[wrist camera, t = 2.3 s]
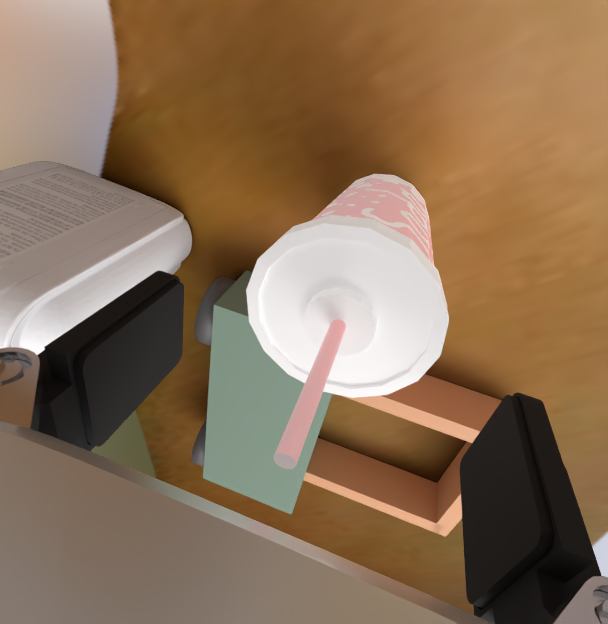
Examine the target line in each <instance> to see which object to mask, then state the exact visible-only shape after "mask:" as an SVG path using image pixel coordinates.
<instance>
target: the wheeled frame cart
mask: <svg viewBox="0 0 608 624" xmlns="http://www.w3.org/2000/svg"><path fill="white" fill-rule="evenodd" d="M252 273H253V272H251V271H248V270H246V271H245V272H244V273H243V274H242V275H241V276H240V277H239V278H238V280H237V281H235V280H232V279H229V278H226V277H223V276H222V277H219V278H217V279H216V280H215V281H214V282H213V283H212V284H211V285H210V287H209V288H208V290H207V291H206V293H205V295H204V297H203V299H202V301H201V304H200V307H199V310H198V313H197V317H196V323H195V336H196V339H197V341H198V342H200V343H203V344H206V345H209V346H211V357H210V374H209V390H208V407H207V419H206V421H205V422H204V424H203V426H202V427H201V429H200V431H199V434H198V436H197V438H196V441H195V444H194V447H193V451H192V457H191V460H192V462H193V463H195V464H198V465H200V466H203V467H204V472H203V478H204V479H206V480H209V481H211V482H214V483H216V484H218V485H221V486H223V487H226V488H228V489H231V490H233V491H235V492H238V493H240V494H243V495H245V496H247V497H250V498H252V499H255V500H257V501H260V502H262V503H264V504H267V505H269V506H272V507H274V508H277V509H279V510H281V511H284V512H286V513H289V514H292V511H293V508H294V505H295V502H296V500H297V497H298V494H299V491H300V488H301V485H302V482H303V480H305V481H307V482H310V483H312V484H315V485H317V486H320V487H322V488H325V489H327V490H330V491H332V492H335V493H337V494H340V495H342V496H345V497H347V498H350V499H352V500H355V501H357V502H360V503H362V504H365V505H367V506H370V507H372V508H375V509H377V510H380V511H382V512H385V513H387V514H390V515H392V516H395V517H397V518H400V519H402V520H405V521H407V522H410V523H412V524H415V525H417V526H420V527H423V528H425V529H428V530H430V531H433V532H435V533H438V534H440V535H443V536H445V537H446V536H447V535H448V533H449V532H450V531H451V530H452V529H453V528H454V527H455V525H456V524H457V523H458V522H459V521H460V520H461V519H462V504H461V486H460V463H461V460H462V457H463V456H464V454H465V453H466V451H467V450H468V448H469V447H470V446H471V444H472V443H473V441H474V440H475V438H476V437H477V436H478V434H479V433H480V431H481V430H482V429H483V427H484V426H485V424H486V423H487V421H488V420H489V419H490V417H491V416H492V414H493V413H494V411H495V410H496V409H497V407H498V406H499V404H500V403H501V401H502V400H499V399H496V398H493V397H490V396H487V395H485V394H482V393H479V392H476V391H473V390H470V389H467V388H464V387H461V386H458V385H455V384H453V383H450V382H447V381H444V380H441V379H438V378H435V377H432V376H429V375H426V374H424V375H423V376H422V377H421V378H420V379H419V380H418V381H417V382H415V383H412V384H410V385H408V386H406V387H404V388H401V389H399V390H397V391H395V392H393V393H390V394H388V395H381V396H369V397H357V398H351V397H346V396H343V397H346V398H349V399H352V400H354V401H357V402H360V403H363V404H365V405H368V406H371V407H374V408H376V409H379V410H382V411H385V412H387V413H390V414H393V415H396V416H398V417H401V418H404V419H407V420H409V421H412V422H415V423H418V424H421V425H423V426H426V427H429V428H432V429H434V430H437V431H440V432H443V433H445V434H448V435H451V436H454V437H456V438H459V439H462V440H465V441H467V442H466V443H465V445H464V446H463V448H462V449H461V450H460V452H459V453H458V454H457V456H456V457H455V459H454V460H453V461H452V463H451V464H450V466H449V467H448V468H447V470H446V471H445V473H444V474H443V475H442V477H441V478H440V480H439V481H438V482H437V483H436V482H433V481H431V480H428V479H425V478H423V477H420V476H417V475H415V474H412V473H410V472H407V471H404V470H402V469H399V468H396V467H394V466H391V465H389V464H386V463H383V462H381V461H378V460H375V459H373V458H370V457H368V456H365V455H362V454H360V453H357V452H354V451H352V450H349V449H347V448H344V447H341V446H339V445H336V444H333V443H331V442H328V441H326V440H323V439H320V438H318V435H319V432H320V429H321V426H322V423H323V420H324V417H325V414H326V411H327V408H328V405H329V402H330V399H331V396H332V393H328V392H323V393H322V396H321V398H320V401H319V404H318V407H317V409H316V412H315V415H314V418H313V420H312V423H311V426H310V429H309V431H308V434H307V437H306V440H305V442H304V445H303V448H302V451H301V453H300V456H299V459H298V462H297V464H296V466H295V468H293V469H284V468H282V467H280V466H278V465H277V464H276V463H275V461H274V458H273V457H274V454H275V452H276V450H277V447H278V445H279V443H280V440H281V438H282V436H283V433H284V431H285V429H286V426H287V424H288V422H289V419H290V417H291V415H292V412H293V410H294V408H295V405H296V403H297V401H298V398H299V396H300V394H301V391H302V389H303V387H304V384H305V383H303V382H301V381H300V380H298V379H296V378H294V377H292V376H290V375H288V374H287V373H286V372H285V371H284V370H283V369H282V368H281V367H280V366H279V365H278V364H277V363H276V362H275V361H274V360H273V359H272V358H271V357H270V356H269V355H268V354H267V353H266V352H265V351H264V350H263V348H262V346H261V344H260V342H259V340H258V338H257V336H256V334H255V332H254V330H253V328H252V327H251V325H250V323H249V315H248V305H247V294H246V289H247V286H248V284H249V281H250V278H251V276H252ZM341 396H342V395H341Z"/></svg>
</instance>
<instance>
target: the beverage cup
mask: <svg viewBox="0 0 608 624" xmlns="http://www.w3.org/2000/svg"><path fill="white" fill-rule="evenodd" d="M246 294H247V305H248V315H249V323H250V325H251V327H252V328H253V330H254V332H255V334H256V336H257V338H258V340H259V342H260V344H261V346H262V348H263V350H264V351H265V352H266V353H267V354H268V355H269V356H270V357H271V358H272V359H273V360H274V361H275V362H276V363H277V364H278V365H279V366H280V367H281V368H282V369H283V370H284V371H285V372H286V373H287V374H288V375H290V376H292V377H294V378H296V379H298V380H300V381H301V382H303V383H305V384H304V387H303V389H302V391H301V394H300V396H299V398H298V401H297V403H296V405H295V408H294V410H293V412H292V415H291V417H290V419H289V422H288V424H287V426H286V429H285V431H284V433H283V436H282V438H281V440H280V443H279V445H278V447H277V450H276V452H275V454H274V457H273V458H274V461H275V463H276V464H277V465H278V466H280V467H282V468H284V469H293V468H295V466H296V464H297V462H298V459H299V456H300V453H301V451H302V448H303V445H304V442H305V440H306V437H307V434H308V431H309V429H310V426H311V423H312V420H313V418H314V415H315V412H316V409H317V407H318V404H319V401H320V398H321V396H322V393H323V392H328V393H332V394H337V395H342V396H346V397H351V398H357V397H369V396H381V395H388V394H390V393H393V392H395V391H397V390H399V389H401V388H404V387H406V386H408V385H410V384H412V383H415V382H417V381H418V380H419V379H420V378H421V377H422V376H423V375H424V374H425V373H426V371H427V370H428V369H429V368H430V367H431V366H432V365H433V364H434V362H435V361H436V360H437V359H438V358H439V357H440V356H441V352H442V348H443V344H444V340H445V335H446V331H447V327H448V323H449V315H448V311H447V303H446V299H445V295H444V291H443V287H442V283H441V280H440V276H439V272H438V270H437V269H436V268H435V266H434V260H433V251H432V242H431V232H430V223H429V216H428V212H427V208H426V204H425V200H424V198H423V197H422V196H421V195H420V193H419V192H418V191H417V190H416V188H415V187H414V186H413V185H412V184H411V183H409V182H407V181H405V180H403V179H401V178H399V177H397V176H395V175H385V174H373V175H370V176H367V177H364V178H361V179H358V180H356V181H355V182H354V183H352V184H351V185H350V186H349V187H348V188H347V189H346V190H345V191H344V192H342V193H341V194H340V195H339V196H338V197H337V198H336V199H335V200H334V201H332V202H331V203H330V204H329V205H328V206H327V207H326V208H325V209H324V210H323V211H322V212H320V213H319V214H318V215H317V216H316V217H315V218H314V219H313V220H312V221H309V222H306V223H303V224H299V225H296V226H293V227H292V228H291V229H290V230H289V231H288V232H286V233H285V234H284V235H283V236H282V237H281V238H280V239H279V240H278V241H277V242H275V243H274V244H273V245H272V246H271V247H270V248H269V249H268V250H267V251H266V252H265V253H263V254H262V255H261V256H260V257H259V258H258V259H257V262H256V265H255V268H254V270H253V273H252V276H251V278H250V281H249V284H248V286H247V289H246Z"/></svg>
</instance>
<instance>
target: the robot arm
mask: <svg viewBox="0 0 608 624" xmlns="http://www.w3.org/2000/svg"><path fill="white" fill-rule="evenodd" d="M183 306H184V285H183V284H182V283H180V280H179V277H177V276H175V275H172V274H169V273H166V272H163V271H159V270H158V271H156V272H154V273H153V274H152V275H150V276H149V277H147V278H146V279H144V280H143V281H141V282H140V283H138V284H137V285H135V286H134V287H132V288H131V289H129V290H128V291H126V292H125V293H123V294H122V295H120V296H119V297H117V298H116V299H114V300H113V301H112V302H110V303H109V304H107V305H106V306H104V307H103V308H101V309H100V310H98V311H97V312H95V313H94V314H92V315H91V316H89V317H88V318H86V319H85V320H83V321H82V322H80V323H79V324H77V325H76V326H75V327H73V328H72V329H70V330H69V331H67V332H66V333H64V334H63V335H61V336H60V337H58V338H57V339H55V340H54V341H52V342H51V343H49V344H48V345H46V346H45V347H44V348H45V350H44V351H42V352H41V353H39V354H38V355H36V354H35V353H34V352H32V351H30V350H28V349H24V348H19V347H7V348H1V349H0V624H608V578H607V577H604V576H601V573H600V570H599V567H598V564H597V560H596V557H595V554H594V551H593V548H592V545H591V542H590V539H589V536H588V533H587V530H586V527H585V524H584V521H583V518H582V515H581V512H580V509H579V506H578V503H577V500H576V497H575V494H574V491H573V488H572V485H571V482H570V479H569V476H568V473H567V470H566V468H565V466H564V464H563V461H562V458H561V455H560V452H559V449H558V446H557V443H556V440H555V437H554V434H553V431H552V428H551V425H550V422H549V419H548V416H547V413H546V410H545V407H544V404H543V402H542V401H541V400H539V399H536V398H533V397H530V396H527V395H524V394H521V393H515V394H514V395H513V396H510V395H507V396H505V397H504V399H503V400H502V401H501V403H500V404H499V406H498V407H497V409H496V410H495V411H494V413H493V414H492V416H491V417H490V419H489V420H488V421H487V423H486V424H485V426H484V427H483V429H482V430H481V431H480V433H479V434H478V436H477V437H476V438H475V440H474V441H473V443H472V444H471V446H470V447H469V448H468V450H467V451H466V453H465V454H464V456H463V457H462V460H461V463H460V486H461V504H462V521H463V539H464V557H465V574H466V592H467V599H468V601H469V603H470V604H473V605H474V615H472V614H470V613H468V612H466V611H463V610H461V609H459V608H457V607H455V606H452V605H450V604H448V603H446V602H443V601H441V600H439V599H437V598H435V597H432V596H430V595H428V594H426V593H423V592H421V591H419V590H417V589H414V588H412V587H410V586H407V585H405V584H403V583H400V582H398V581H396V580H393V579H391V578H389V577H386V576H384V575H382V574H379V573H377V572H375V571H372V570H370V569H368V568H365V567H363V566H361V565H358V564H356V563H354V562H351V561H349V560H347V559H344V558H342V557H340V556H337V555H335V554H333V553H330V552H328V551H326V550H324V549H321V548H319V547H317V546H314V545H312V544H309V543H307V542H305V541H302V540H300V539H298V538H295V537H293V536H291V535H288V534H286V533H284V532H281V531H279V530H277V529H274V528H272V527H270V526H267V525H265V524H262V523H260V522H258V521H255V520H253V519H251V518H248V517H246V516H244V515H241V514H239V513H236V512H234V511H232V510H229V509H227V508H225V507H222V506H220V505H218V504H215V503H213V502H210V501H208V500H206V499H203V498H201V497H199V496H196V495H194V494H192V493H189V492H187V491H184V490H182V489H180V488H177V487H175V486H172V485H170V484H168V483H165V482H163V481H160V480H158V479H156V478H153V477H151V476H148V475H146V474H144V473H141V472H139V471H136V470H134V469H131V468H129V467H127V466H124V465H122V464H120V463H117V462H115V461H112V460H110V459H108V458H105V457H103V456H100V455H98V454H95V453H93V452H90V451H91V450H92V449H93V448H94V447H95V446H101V445H103V444H104V443H105V442H106V440H108V438H109V437H110V436H111V435H112V434H113V433H114V432H115V431H116V429H118V428H119V426H120V425H121V424H122V423H123V422H124V421H125V420H126V419H127V418H128V417H129V416H130V415H131V413H132V412H133V411H134V410H135V409H136V408H137V407H138V406H139V405H140V404H141V403H142V402H143V400H144V399H145V398H146V397H147V396H148V395H149V394H150V393H151V392H152V391H153V390H154V389H155V387H156V386H157V385H158V384H159V383H160V382H161V381H162V380H163V379H164V378H165V377H166V376H167V374H168V373H169V372H170V371H171V370H172V369H173V368H174V367H175V366H176V365H177V363H178V362H179V360H180V358H181V356H182V344H183Z"/></svg>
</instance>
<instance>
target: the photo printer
mask: <svg viewBox="0 0 608 624" xmlns="http://www.w3.org/2000/svg"><path fill="white" fill-rule="evenodd" d="M191 247H192V234H191V230H190V227H189V225H188V222H187V221H186V220H185V219H184V215H183V214H182V213H181V212H180V211H178V210H176V209H175V208H173V207H171V206H169V205H167V204H165V203H163V202H161V201H159V200H156V199H154V198H151V197H149V196H146V195H144V194H142V193H139V192H136V191H134V190H131V189H129V188H126V187H124V186H121V185H118V184H116V183H113V182H111V181H108V180H105V179H103V178H100V177H97V176H95V175H92V174H89V173H86V172H84V171H82V170H78V169H75V168H72V167H69V166H66V165H63V164H59V163H55V162H47V161H41V162H33V163H29V164H25V165H21V166H17V167H13V168H9V169H5V170H1V171H0V349H1V348H7V347H19V348H24V349H28V350H30V351H32V352H34V353H35V354H36V355H38V354H39V353H41V352H42V351H44V350H45V348H44V347H45V346H46V345H48V344H49V343H51V342H52V341H54V340H55V339H57V338H58V337H60V336H61V335H63V334H64V333H66V332H67V331H69V330H70V329H72V328H73V327H75V326H76V325H77V324H79V323H80V322H82V321H83V320H85V319H86V318H88V317H89V316H91V315H92V314H94V313H95V312H97V311H98V310H100V309H101V308H103V307H104V306H106V305H107V304H109V303H110V302H112V301H113V300H114V299H116V298H117V297H119V296H120V295H122V294H123V293H125V292H126V291H128V290H129V289H131V288H132V287H134V286H135V285H137V284H138V283H140V282H141V281H143V280H144V279H146V278H147V277H149V276H150V275H152V274H153V273H154V272H156V271H158V270H159V271H163V272H166V273H169V274H174V273H175V272H176V271H177V270H178V269H179V268H180V266H181V262H182V261H183V260H184V259H185V258H186V257H187V256H188V255H189V253H190V251H191Z"/></svg>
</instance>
